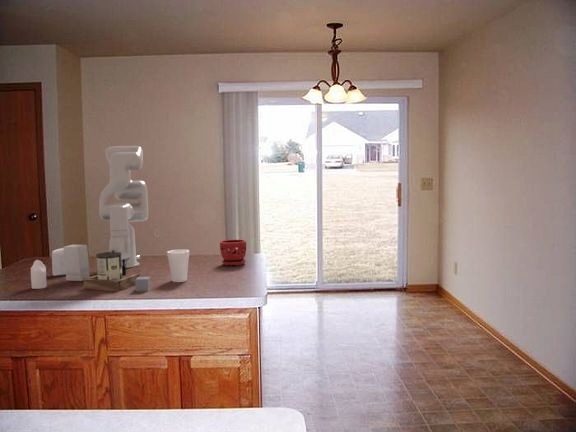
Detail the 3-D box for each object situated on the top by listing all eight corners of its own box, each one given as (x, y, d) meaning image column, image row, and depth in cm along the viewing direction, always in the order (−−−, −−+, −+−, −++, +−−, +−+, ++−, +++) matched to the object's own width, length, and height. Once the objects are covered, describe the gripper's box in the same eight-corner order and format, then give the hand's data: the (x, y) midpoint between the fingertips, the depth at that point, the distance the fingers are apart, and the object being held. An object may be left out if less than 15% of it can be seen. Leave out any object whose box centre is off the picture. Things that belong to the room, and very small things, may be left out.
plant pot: (251, 263, 292) (251, 239, 290) (236, 267, 281) (235, 243, 279) (231, 260, 299) (230, 237, 297) (215, 265, 288) (214, 241, 286)
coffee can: (109, 282, 252) (107, 251, 251) (128, 284, 248) (126, 252, 247) (92, 288, 243) (90, 255, 242) (111, 290, 239) (109, 256, 237)
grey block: (138, 288, 241) (138, 276, 241) (150, 288, 242) (150, 276, 241) (135, 291, 236) (135, 279, 236) (148, 291, 237) (147, 279, 236)
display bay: (107, 280, 257) (106, 271, 257) (140, 282, 252) (139, 273, 251) (83, 288, 242) (83, 279, 242) (118, 291, 237) (117, 281, 236)
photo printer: (74, 272, 277) (73, 246, 276) (76, 273, 274) (75, 247, 272) (51, 275, 271) (50, 248, 270) (53, 276, 268) (52, 250, 266)
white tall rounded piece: (43, 257, 249) (46, 259, 245) (45, 285, 250) (48, 287, 246) (28, 259, 246) (31, 261, 241) (30, 287, 247) (33, 289, 242)
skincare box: (90, 278, 262) (88, 244, 260) (80, 281, 256) (78, 246, 254) (74, 277, 265) (72, 243, 263) (65, 280, 259) (62, 246, 257)
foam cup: (171, 283, 249) (170, 253, 247) (165, 279, 257) (164, 250, 255) (193, 281, 253) (192, 251, 252) (186, 277, 261) (185, 248, 260)
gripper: (122, 231, 259) (124, 271, 261) (101, 235, 245) (103, 278, 247) (136, 231, 257) (138, 272, 259) (116, 236, 243) (119, 279, 245)
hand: (121, 275), depth 253 cm, fingers closed
